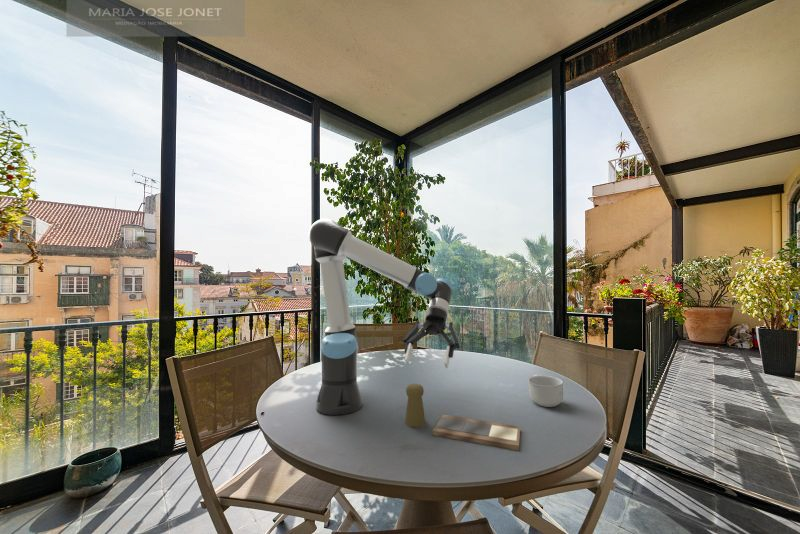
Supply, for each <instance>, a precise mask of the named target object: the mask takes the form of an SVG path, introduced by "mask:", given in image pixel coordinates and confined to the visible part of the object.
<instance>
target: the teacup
mask: <svg viewBox="0 0 800 534" xmlns="http://www.w3.org/2000/svg"><path fill="white" fill-rule="evenodd" d="M527 382H528V390H529V391H528V393H529V396H530V398H531V400H532V401H534V402H535V404H537V405H538V406H540V407H546V408H553V407H557V406H559V405H560V404H561V403H562V402H563V400H564V385H563V384H564V381H563V380H562V379H560V378H558V377H555V376H551V375H539V374H534V375H533V376H530V377H529V378H528V379H527Z"/></svg>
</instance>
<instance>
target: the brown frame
mask: <svg viewBox="0 0 800 534" xmlns="http://www.w3.org/2000/svg"><path fill="white" fill-rule="evenodd" d="M432 436H435V437H441V438H446V439H453V440H459V441H463V442H469V443H473V444H474V443H475V444H479V445H480V444H481V445H486V446H491V447H496V448H501V449H507V450H513V451H520V441H521V426H520V425H514V424H513V425H512V424H508V423H501V422H496V421H495V422H494V421H487V420H482V419H475V418H474V419H473V418H468V417H461V416H454V415H447V414H442V416H441V417H440V419H439V420H438V422H437V423H436V425H435V426H434V428H433V429H432Z"/></svg>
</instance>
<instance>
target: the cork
mask: <svg viewBox="0 0 800 534" xmlns="http://www.w3.org/2000/svg"><path fill="white" fill-rule="evenodd" d="M405 392H406V393H405V394H406V396H407V402H406V411H405V412H406V413H405V420H404V423H405V425H406V426H408V427H411V428H420V427H424V426H425V425H426V416H425V410H424V403H423V396H424V392H425V391H424V387H423V386H422V385H421V384H418V383H411V384H408V385H407V387H406V388H405Z"/></svg>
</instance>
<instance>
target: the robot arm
mask: <svg viewBox="0 0 800 534" xmlns="http://www.w3.org/2000/svg"><path fill="white" fill-rule="evenodd" d="M308 238H309V241H310V243H311V245H312V246H313V248H314V257H315V260H316V262H317V263H319V264H320V271H321V280H322V287H323V296H324V297H323V298H324V303H325V311H326V319H327V320H326V321H327V327H326V328H325V330H324V335H325V336H324V337H323V338H322V341H321V346H320V350H321V386H320V389H319V391H318V395H317V399H316V411H317V410H318V411H317V412H318V413H320V412H321V413H320V414H323V415H327V414H329V415H328V416H339V414H342V415H347V413H348V414H351V413H353V412H356V411H358V410H359V409H360V408H362V406H363V397H362V394H361V393H362V392H361V390H360V387H359V384H358V381H357V380H358V376H357V375H358V374H357V373H358V372H357V371H358V366H357V365H358V363H357V358H358V352H359V348H360V347H359V346H360V344H359V339H358V338H357V329H356V325H355V324H353V322H351V313H350V307H349V299H348V293H347V292H348V291H347V283H346V276H345V267H344V260H345V258H348V259H350V260H352V261H354V262H356V263H357V264H360V265H362V266H364V267H366V268H368V269H370V270H372V271H374V272H376V273H378V274H381V275H382V276H384V277H386V278H388V279H390V280H392V281H394V282H396V283H398V284H401V285H402V286H403V288H406V289H407V290H409V291H411V292H414V293H416V294H418V295H421V296H423V297H425V298H427V299H429V304H428V308H427V311H426V315H425V319H424V322H420V320H416V321H415V323H414V326H413V327H412V328H411V329H410V330H409V331H408V332H407V334H405V335H404V337H403V338H402V340H401V341H402V342H403V345H404V346H405V349H404V353H405V356H404V362H405V364H406V365H410V364H409V363H410V360H411V356H412V352H413V349H414V347H413V346H414V345H415V344H416V343H417V342H419V341H420V340H421V339H423V338H424V337H426V336H428V335H429V336H438V335H439V336H440V337H441V338H442V339H443V341H444V342H445V344H447V346H446V350H445V351H446V352H445V356H444V362H443V363H444V367H445V368H447V369H448V368H449V363H450V359H453V357H454V352H455V350H456V349H457V350H459V349H461V345H460V342H459V340H458V337H457V334H456V332H455V327H454V324H453V321H450V322H449V323H447V319H448V313H449V309H450V302H451V299H452V296H453V283H452V282H451V281H450V279H447V278H442V277H440V278H436V277H435V275H433V274H431V273H429V272H425V271H423V270H421V269H419V268H417V267H416V266H413V265H411V264H410V263H408V262H406V261H404V260H401V259H400V258H398V257H396V256H394V255H392V254H390V253H388V252H385V251H384V250H382V249H380V248H378V247H376V246H374V245H373V244H370V243H368V242H366V241H364V240H363V239H360V238H359V237H356V236H354V235H353V234H352V230H349V229H347V228H345V227H344V226H341V224H339V223H337V222H336V221H335V220H332V219H329V218H320V219H318V220H316V221H315V222H314V223H312V225H311V226H310V228H309V231H308ZM446 329H447V330H448V331H449V332H450V334H451V338H452V340H451V339H450V338H449V336H448V335H447V334H446V333H445V330H446Z"/></svg>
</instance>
